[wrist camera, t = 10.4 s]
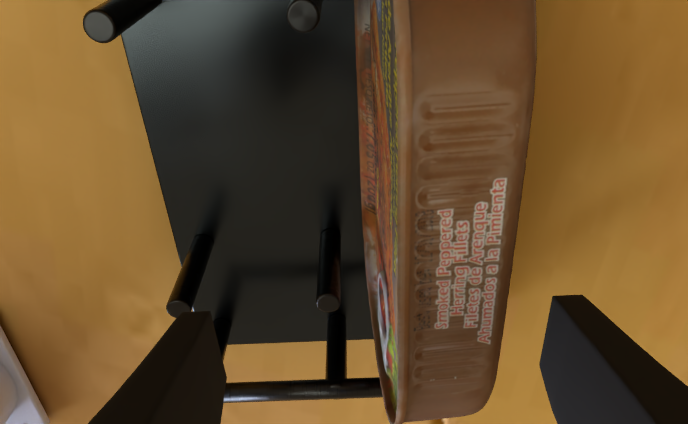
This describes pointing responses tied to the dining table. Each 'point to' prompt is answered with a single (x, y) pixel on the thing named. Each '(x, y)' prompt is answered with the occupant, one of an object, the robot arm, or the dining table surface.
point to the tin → (441, 190)
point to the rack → (257, 170)
